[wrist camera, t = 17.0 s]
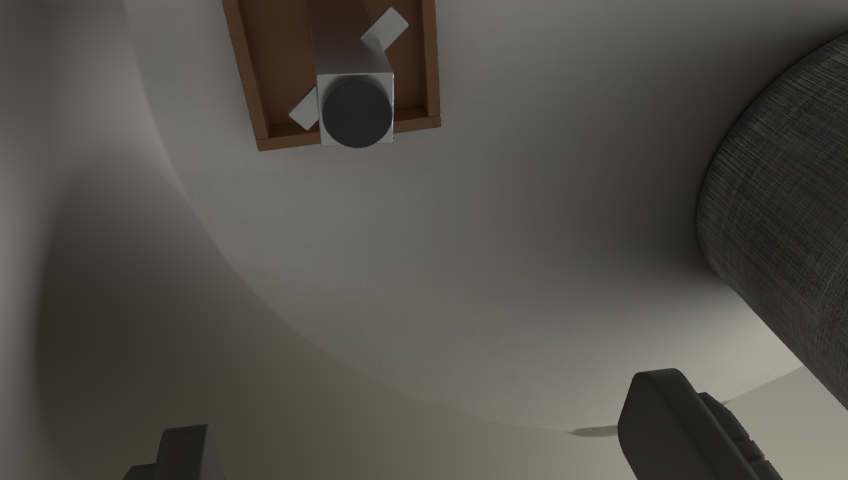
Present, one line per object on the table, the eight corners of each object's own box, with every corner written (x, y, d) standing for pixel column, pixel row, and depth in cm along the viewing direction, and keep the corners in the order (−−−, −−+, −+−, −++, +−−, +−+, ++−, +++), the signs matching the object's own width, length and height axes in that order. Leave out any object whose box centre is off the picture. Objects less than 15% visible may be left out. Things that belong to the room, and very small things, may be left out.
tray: (203, -104, 31) (197, -99, 29) (421, -122, 32) (430, -119, 30) (260, 135, 39) (258, 152, 37) (433, 112, 40) (441, 127, 38)
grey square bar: (289, 69, 36) (290, 184, 25) (280, -33, 33) (275, 43, 21) (383, 67, 37) (427, 176, 26) (382, -32, 34) (432, 40, 22)
